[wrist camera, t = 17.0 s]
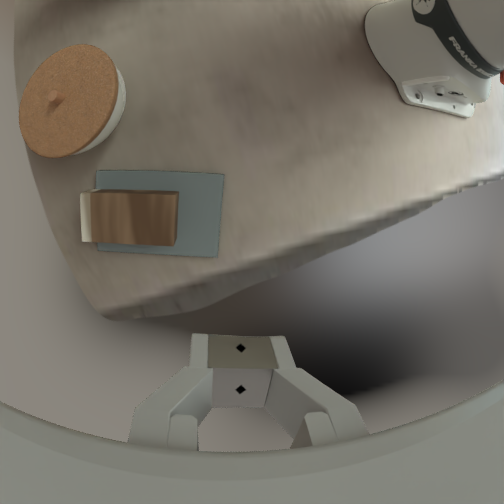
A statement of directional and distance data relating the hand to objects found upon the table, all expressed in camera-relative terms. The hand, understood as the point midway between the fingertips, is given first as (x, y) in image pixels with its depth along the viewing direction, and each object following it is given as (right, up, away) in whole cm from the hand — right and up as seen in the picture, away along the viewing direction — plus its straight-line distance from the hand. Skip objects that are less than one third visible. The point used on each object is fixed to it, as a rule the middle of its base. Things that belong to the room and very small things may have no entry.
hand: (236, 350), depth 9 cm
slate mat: (-10, +7, +20) cm, 23 cm away
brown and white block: (-7, +7, +18) cm, 21 cm away
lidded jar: (-17, +19, +15) cm, 29 cm away
